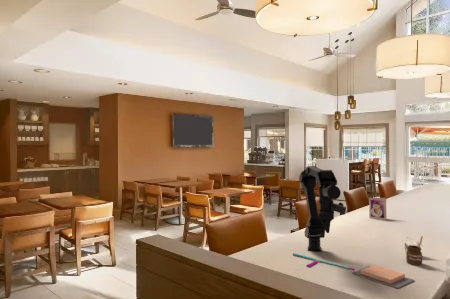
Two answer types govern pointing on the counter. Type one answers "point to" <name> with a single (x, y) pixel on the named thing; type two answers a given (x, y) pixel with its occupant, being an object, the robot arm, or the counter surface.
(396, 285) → the rubber mat
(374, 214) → the greeting card
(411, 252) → the utensil holder
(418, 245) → the elephant figurine
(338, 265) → the squeegee
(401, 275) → the ceramic tile
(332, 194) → the robot arm
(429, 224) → the counter surface
